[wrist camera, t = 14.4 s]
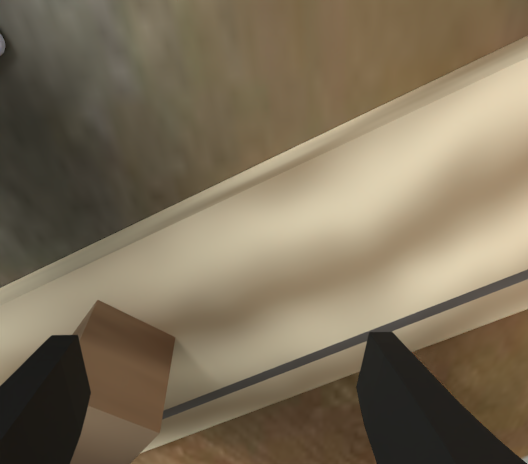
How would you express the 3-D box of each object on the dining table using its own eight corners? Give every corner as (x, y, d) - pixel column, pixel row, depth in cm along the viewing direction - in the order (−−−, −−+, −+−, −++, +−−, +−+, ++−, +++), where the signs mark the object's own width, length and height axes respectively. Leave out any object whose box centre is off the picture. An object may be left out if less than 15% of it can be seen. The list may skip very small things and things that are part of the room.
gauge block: (97, 299, 18) (56, 393, 14) (175, 337, 20) (159, 433, 16) (25, 398, 21) (-28, 502, 17) (98, 425, 23) (66, 527, 18)
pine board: (-49, 311, 21) (-75, 340, 19) (567, 16, 16) (609, 19, 14) (100, 440, 26) (91, 471, 25) (587, 252, 21) (618, 275, 20)
